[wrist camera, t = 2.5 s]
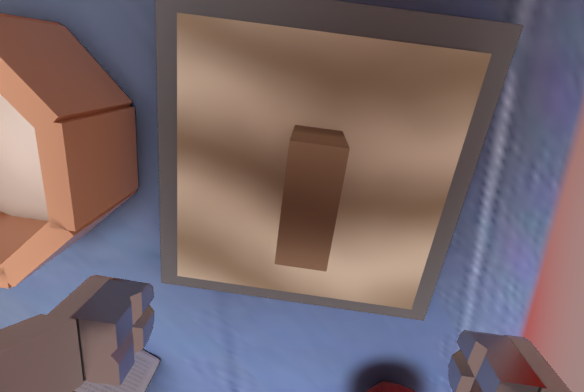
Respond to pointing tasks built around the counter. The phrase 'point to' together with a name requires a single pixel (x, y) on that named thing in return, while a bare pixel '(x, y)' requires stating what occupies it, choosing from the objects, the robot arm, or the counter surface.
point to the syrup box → (129, 376)
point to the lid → (315, 156)
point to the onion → (389, 387)
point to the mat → (350, 21)
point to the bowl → (57, 144)
